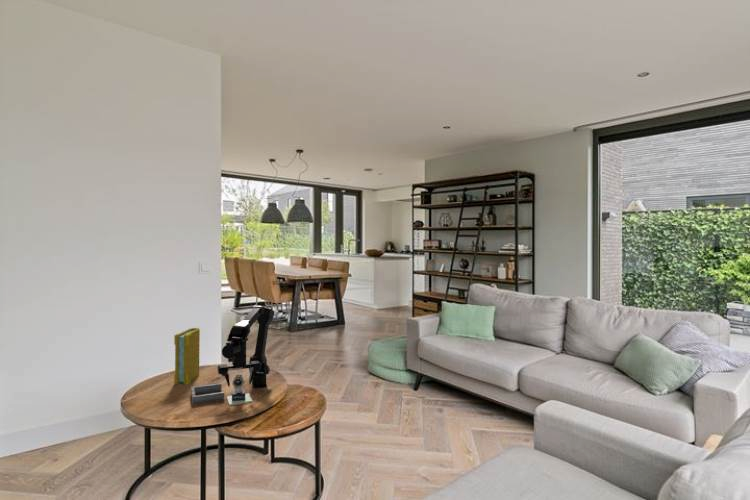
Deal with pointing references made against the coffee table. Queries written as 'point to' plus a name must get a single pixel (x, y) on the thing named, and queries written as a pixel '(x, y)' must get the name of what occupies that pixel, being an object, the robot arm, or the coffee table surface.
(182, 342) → the book
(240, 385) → the watch
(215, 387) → the grey u-shaped piece
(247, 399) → the pad
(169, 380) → the coffee table surface
